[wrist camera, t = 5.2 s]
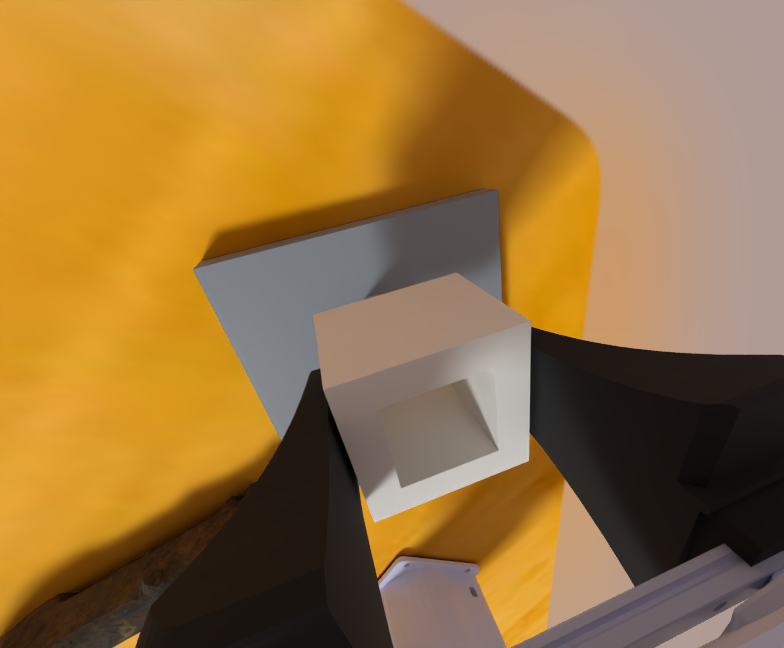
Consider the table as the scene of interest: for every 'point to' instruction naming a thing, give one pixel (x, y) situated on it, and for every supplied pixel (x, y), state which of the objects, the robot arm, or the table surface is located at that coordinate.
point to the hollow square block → (427, 389)
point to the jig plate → (341, 283)
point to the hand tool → (116, 595)
